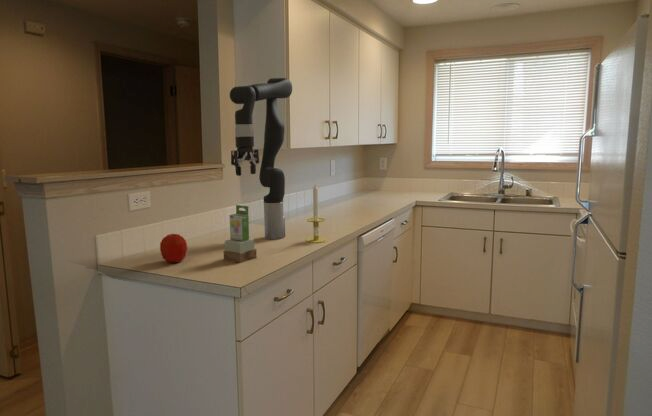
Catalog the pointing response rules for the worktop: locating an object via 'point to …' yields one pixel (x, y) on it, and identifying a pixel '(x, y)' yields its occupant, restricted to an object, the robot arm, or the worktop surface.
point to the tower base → (240, 256)
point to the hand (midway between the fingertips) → (246, 174)
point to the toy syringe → (315, 219)
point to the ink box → (239, 224)
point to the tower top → (239, 245)
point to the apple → (173, 248)
